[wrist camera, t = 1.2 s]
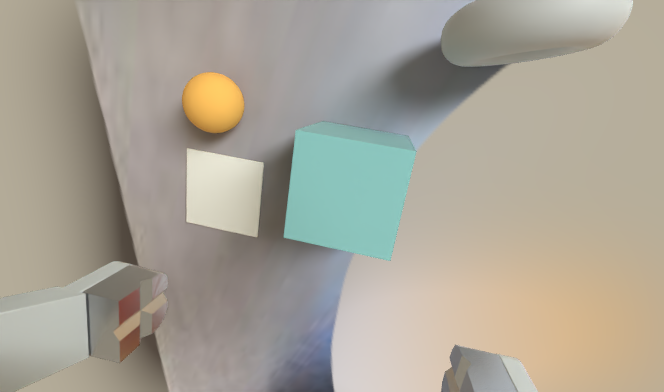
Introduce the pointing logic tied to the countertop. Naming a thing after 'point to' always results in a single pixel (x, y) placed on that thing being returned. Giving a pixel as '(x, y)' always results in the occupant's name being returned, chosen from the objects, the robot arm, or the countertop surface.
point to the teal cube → (348, 188)
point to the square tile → (224, 192)
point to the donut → (529, 29)
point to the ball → (213, 102)
